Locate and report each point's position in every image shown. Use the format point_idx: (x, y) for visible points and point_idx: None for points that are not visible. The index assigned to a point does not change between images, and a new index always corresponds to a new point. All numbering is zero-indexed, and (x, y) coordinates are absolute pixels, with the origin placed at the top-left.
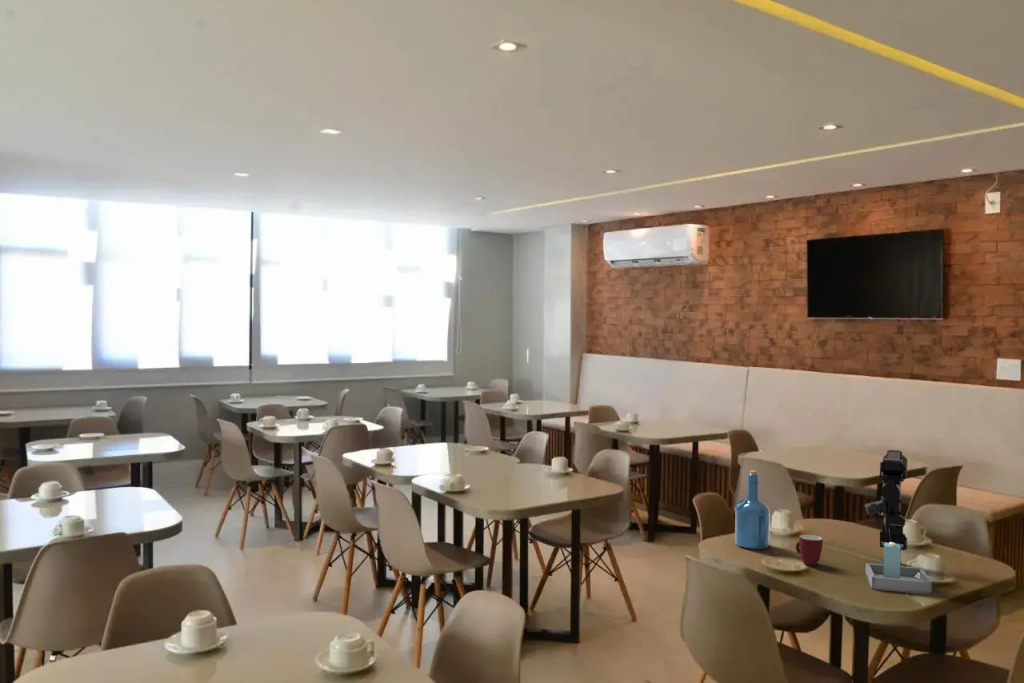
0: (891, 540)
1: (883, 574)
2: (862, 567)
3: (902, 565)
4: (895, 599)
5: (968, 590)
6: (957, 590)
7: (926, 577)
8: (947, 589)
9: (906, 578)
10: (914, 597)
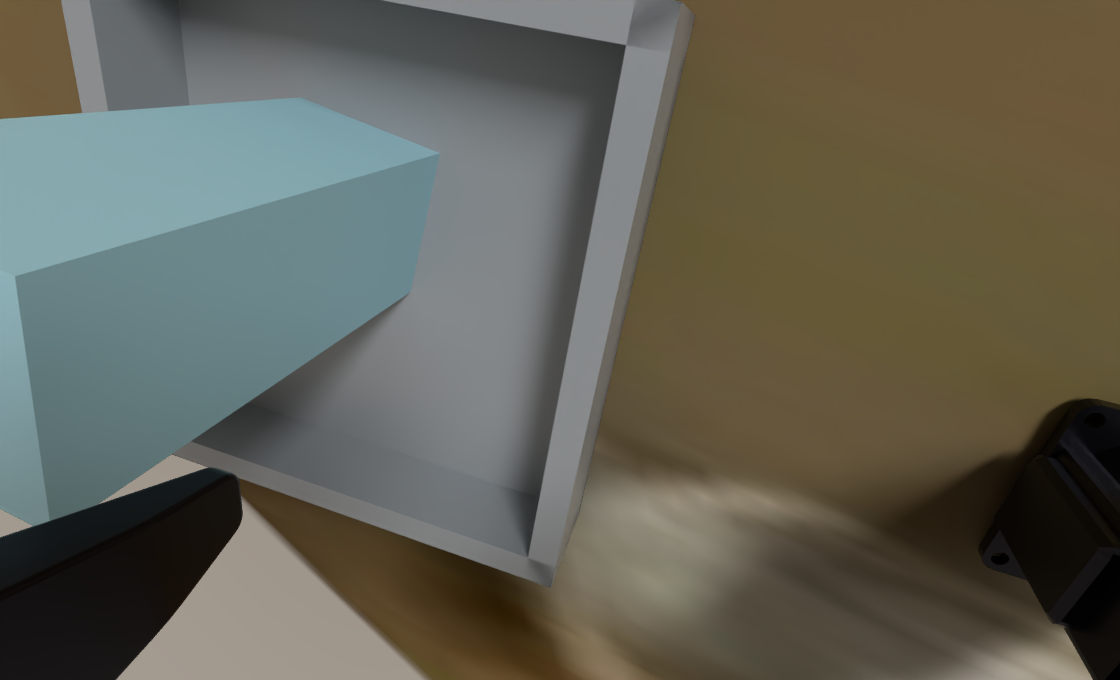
0: (157, 493)
1: (237, 102)
2: (1027, 71)
3: (994, 565)
4: (6, 74)
5: (400, 651)
6: (381, 596)
7: (271, 477)
8: (382, 553)
9: (492, 382)
10: None
